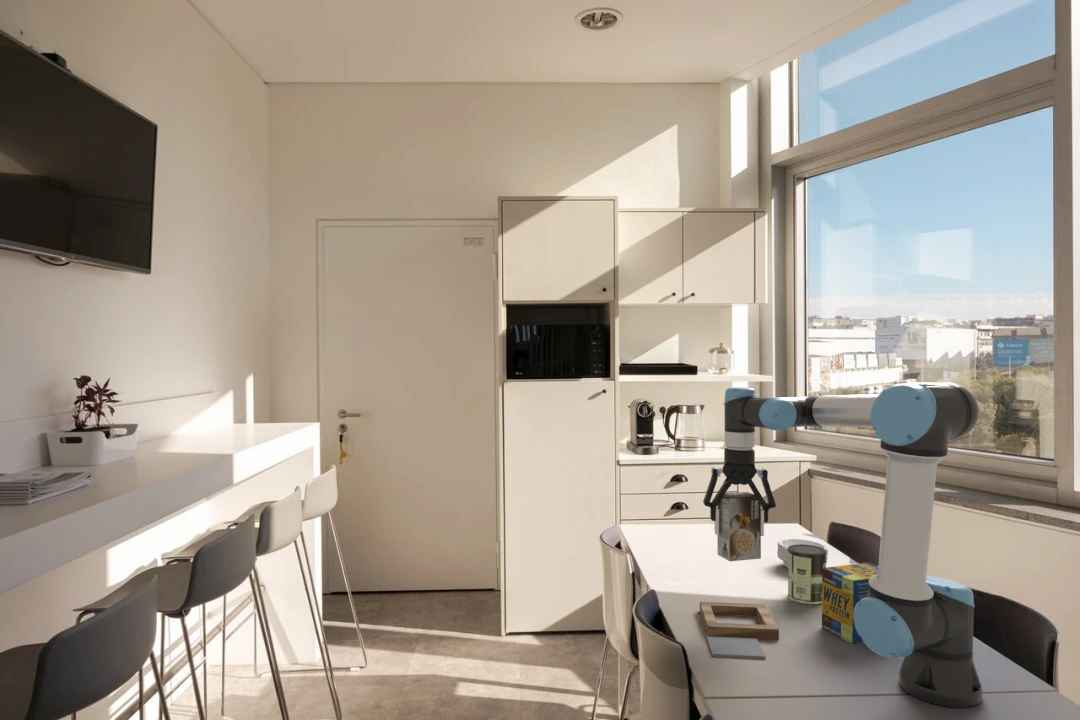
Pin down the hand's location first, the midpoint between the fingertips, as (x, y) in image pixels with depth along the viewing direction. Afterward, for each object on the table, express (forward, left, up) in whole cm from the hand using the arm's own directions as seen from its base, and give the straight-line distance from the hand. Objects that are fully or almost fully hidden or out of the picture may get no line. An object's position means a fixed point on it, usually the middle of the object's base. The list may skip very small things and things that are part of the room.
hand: (738, 534), depth 183 cm
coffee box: (0, 0, -6) cm, 6 cm away
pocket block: (0, 0, -23) cm, 23 cm away
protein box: (-1, -30, -24) cm, 38 cm away
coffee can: (+22, -23, -24) cm, 40 cm away
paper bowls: (+50, -29, -24) cm, 63 cm away
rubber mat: (-15, +3, -23) cm, 28 cm away
